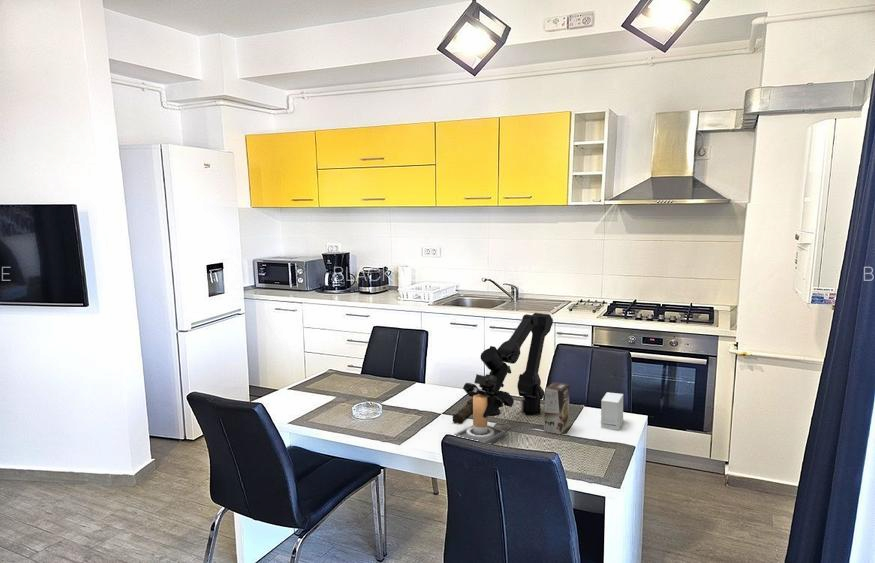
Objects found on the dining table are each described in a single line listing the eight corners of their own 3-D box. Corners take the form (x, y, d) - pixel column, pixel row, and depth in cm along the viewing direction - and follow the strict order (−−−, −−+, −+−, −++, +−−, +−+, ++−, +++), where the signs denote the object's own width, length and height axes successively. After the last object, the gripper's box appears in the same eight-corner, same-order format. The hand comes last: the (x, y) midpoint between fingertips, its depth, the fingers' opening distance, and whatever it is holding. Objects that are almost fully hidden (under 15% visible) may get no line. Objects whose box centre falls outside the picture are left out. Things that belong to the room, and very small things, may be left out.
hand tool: (461, 425, 209) (462, 413, 208) (452, 423, 211) (452, 411, 210) (481, 409, 226) (481, 398, 225) (472, 407, 228) (472, 396, 227)
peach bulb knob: (488, 430, 198) (488, 394, 196) (486, 436, 193) (486, 399, 191) (474, 429, 199) (474, 393, 197) (471, 435, 194) (471, 398, 193)
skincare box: (605, 418, 214) (606, 391, 213) (623, 421, 211) (624, 393, 210) (599, 427, 205) (600, 399, 203) (618, 430, 202) (619, 402, 201)
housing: (478, 427, 205) (478, 421, 205) (505, 436, 198) (505, 429, 197) (454, 439, 195) (453, 432, 195) (481, 449, 187) (481, 441, 187)
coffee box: (560, 435, 198) (561, 390, 196) (543, 431, 202) (544, 387, 200) (569, 426, 206) (570, 383, 204) (552, 423, 209) (553, 381, 207)
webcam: (497, 408, 225) (497, 384, 224) (503, 415, 218) (503, 390, 217) (478, 410, 224) (478, 385, 223) (483, 416, 217) (483, 391, 215)
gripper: (465, 360, 202) (446, 398, 195) (509, 369, 190) (490, 410, 183) (479, 376, 209) (460, 413, 202) (521, 386, 197) (503, 426, 190)
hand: (477, 415), depth 194 cm, fingers closed on peach bulb knob, 5 cm apart
